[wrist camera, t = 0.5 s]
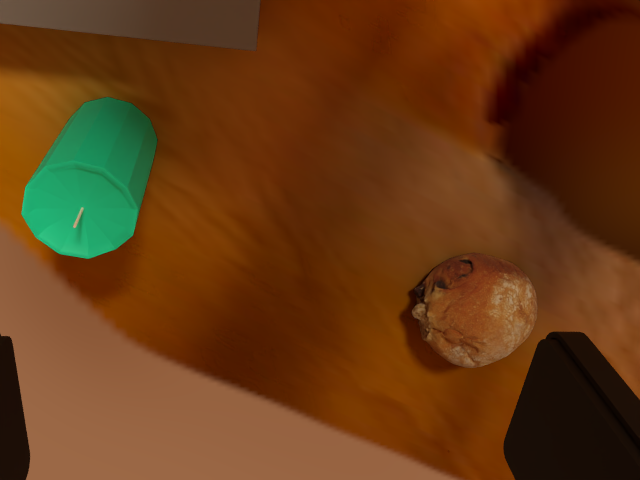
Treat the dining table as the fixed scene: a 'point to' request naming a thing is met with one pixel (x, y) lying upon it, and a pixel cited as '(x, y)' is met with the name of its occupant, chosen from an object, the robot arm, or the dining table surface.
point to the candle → (92, 180)
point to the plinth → (145, 19)
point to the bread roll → (475, 309)
